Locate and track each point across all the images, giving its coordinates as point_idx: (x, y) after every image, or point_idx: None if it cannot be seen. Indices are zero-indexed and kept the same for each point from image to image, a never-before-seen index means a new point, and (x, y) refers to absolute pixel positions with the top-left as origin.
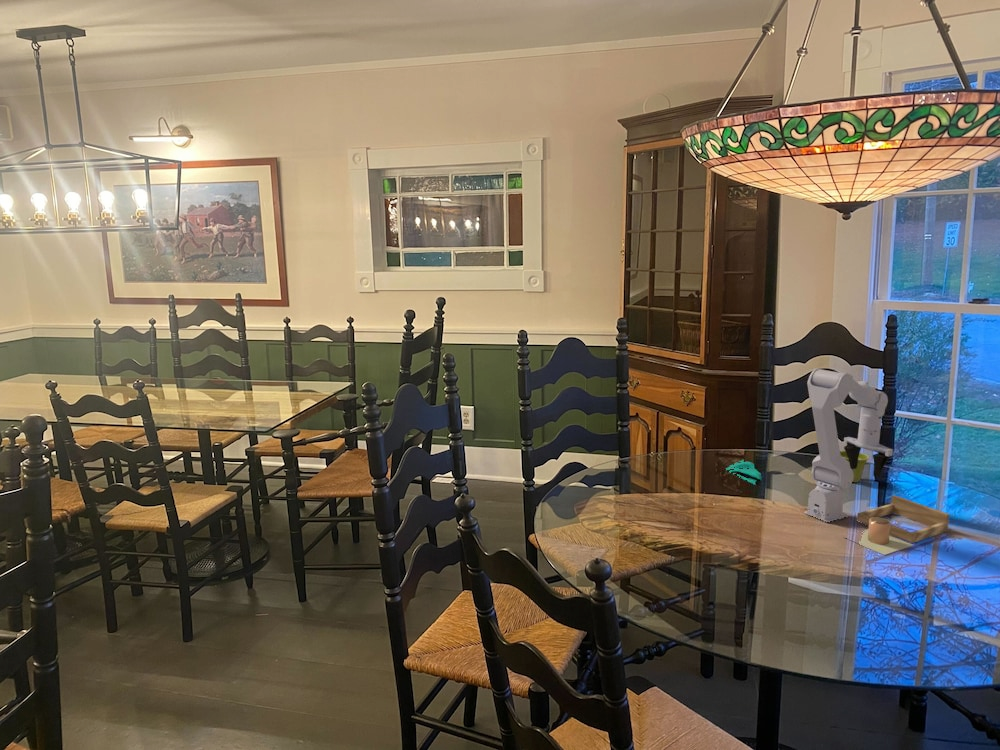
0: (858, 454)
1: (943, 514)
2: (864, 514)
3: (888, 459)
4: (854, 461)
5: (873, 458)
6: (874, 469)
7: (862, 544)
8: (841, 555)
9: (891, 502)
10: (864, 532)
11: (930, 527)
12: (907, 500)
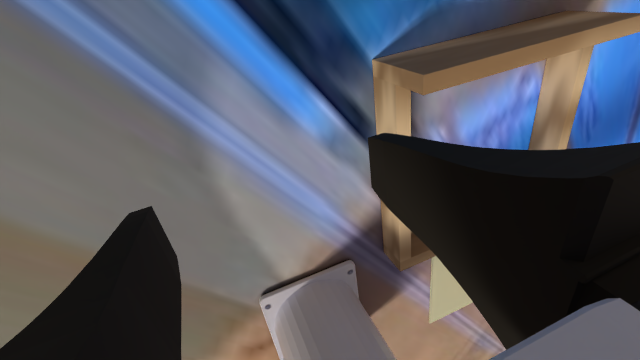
0: (114, 312)
1: (624, 34)
2: (416, 256)
3: (580, 151)
4: (162, 294)
5: (501, 338)
6: (419, 229)
7: (471, 300)
8: (470, 346)
9: (403, 84)
10: (441, 270)
11: (570, 119)
12: (494, 64)
